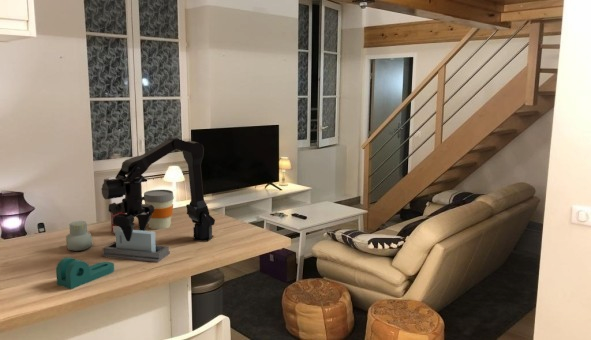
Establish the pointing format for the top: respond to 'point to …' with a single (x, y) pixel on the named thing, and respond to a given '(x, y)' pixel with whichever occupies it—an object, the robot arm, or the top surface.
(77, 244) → the air freshener
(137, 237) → the door panel
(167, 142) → the robot arm
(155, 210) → the reusable coffee cup
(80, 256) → the top surface
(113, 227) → the soda can
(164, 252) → the floor track
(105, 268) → the bracket
